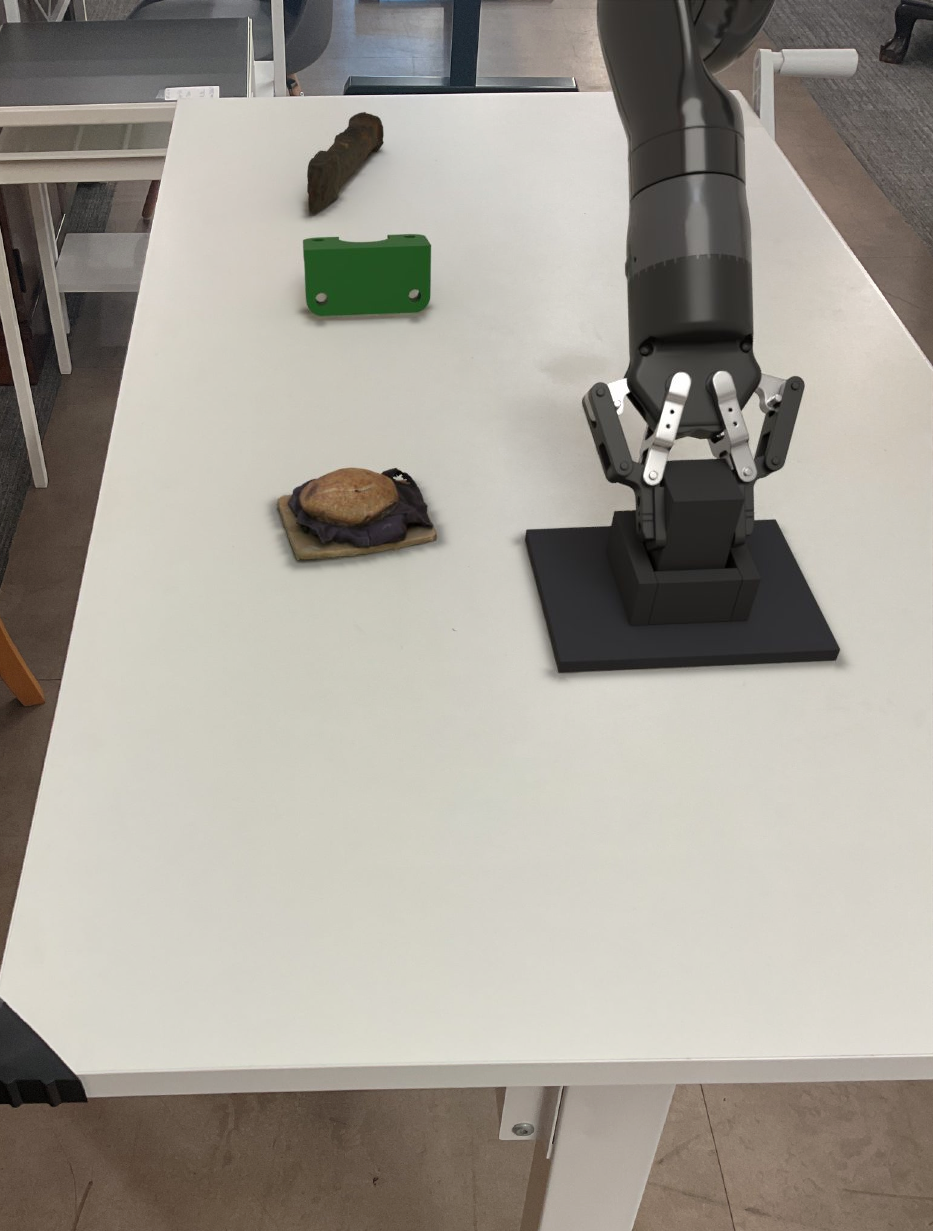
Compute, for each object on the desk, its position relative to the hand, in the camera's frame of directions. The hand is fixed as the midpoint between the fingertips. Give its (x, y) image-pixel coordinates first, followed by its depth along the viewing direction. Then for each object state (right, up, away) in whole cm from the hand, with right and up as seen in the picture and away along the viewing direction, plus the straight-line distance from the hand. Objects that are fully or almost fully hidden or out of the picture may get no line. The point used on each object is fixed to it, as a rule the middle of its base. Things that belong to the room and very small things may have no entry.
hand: (695, 546), depth 75 cm
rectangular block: (0, -1, +4) cm, 5 cm away
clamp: (-20, +29, +34) cm, 50 cm away
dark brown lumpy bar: (-22, +49, +53) cm, 76 cm away
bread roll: (-22, +4, +12) cm, 25 cm away
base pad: (0, -2, +6) cm, 6 cm away
